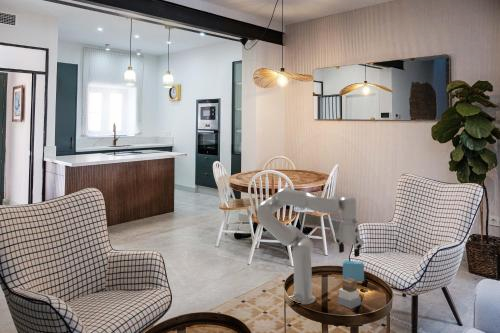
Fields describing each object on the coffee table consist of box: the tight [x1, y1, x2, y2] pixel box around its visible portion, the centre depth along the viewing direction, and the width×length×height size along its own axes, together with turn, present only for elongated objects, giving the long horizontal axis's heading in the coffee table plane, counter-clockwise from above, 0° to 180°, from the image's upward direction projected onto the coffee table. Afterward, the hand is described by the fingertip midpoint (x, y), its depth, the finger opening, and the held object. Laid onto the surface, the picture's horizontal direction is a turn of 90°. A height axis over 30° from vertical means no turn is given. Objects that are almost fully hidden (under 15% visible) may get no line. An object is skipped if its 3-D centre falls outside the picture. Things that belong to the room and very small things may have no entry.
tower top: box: [338, 287, 360, 301], centre depth 193 cm, size 7×7×4 cm
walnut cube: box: [341, 278, 358, 292], centre depth 193 cm, size 5×5×5 cm
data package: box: [342, 260, 365, 282], centre depth 223 cm, size 12×4×12 cm, turn 75°
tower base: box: [337, 296, 362, 310], centre depth 193 cm, size 8×8×4 cm
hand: (349, 254), depth 191 cm, fingers open, 9 cm apart
